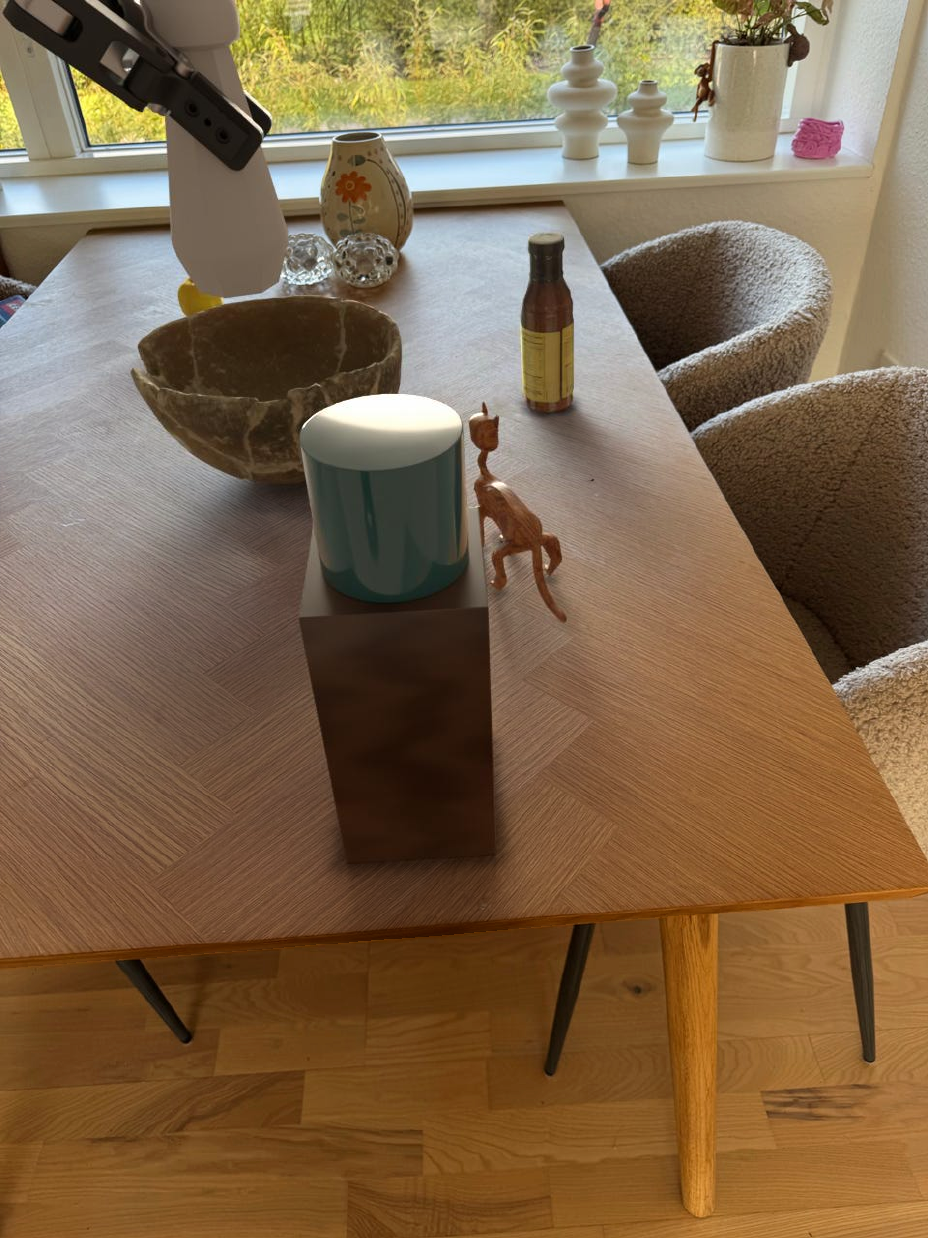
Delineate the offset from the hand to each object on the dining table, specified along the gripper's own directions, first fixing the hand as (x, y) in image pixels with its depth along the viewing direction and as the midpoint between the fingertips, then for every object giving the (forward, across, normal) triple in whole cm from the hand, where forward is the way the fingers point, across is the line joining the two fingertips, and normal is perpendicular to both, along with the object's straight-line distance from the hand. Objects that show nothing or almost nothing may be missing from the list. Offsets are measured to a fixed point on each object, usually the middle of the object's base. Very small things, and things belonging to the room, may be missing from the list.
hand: (256, 145), depth 44 cm
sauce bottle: (+44, +56, +14) cm, 72 cm away
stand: (+33, -5, +26) cm, 42 cm away
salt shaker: (+3, 0, +6) cm, 7 cm away
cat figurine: (+39, +20, +19) cm, 48 cm away
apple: (+10, +88, +47) cm, 100 cm away
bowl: (+22, +44, +35) cm, 60 cm away
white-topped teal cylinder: (+18, -4, +11) cm, 21 cm away
